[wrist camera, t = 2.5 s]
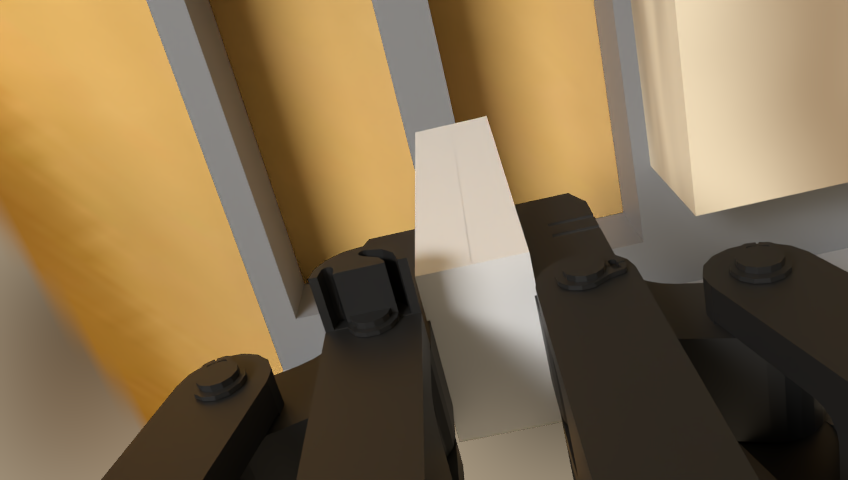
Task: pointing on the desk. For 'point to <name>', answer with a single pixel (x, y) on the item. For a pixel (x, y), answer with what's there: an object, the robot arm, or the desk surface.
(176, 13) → the lane deck
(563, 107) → the desk surface
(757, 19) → the block
